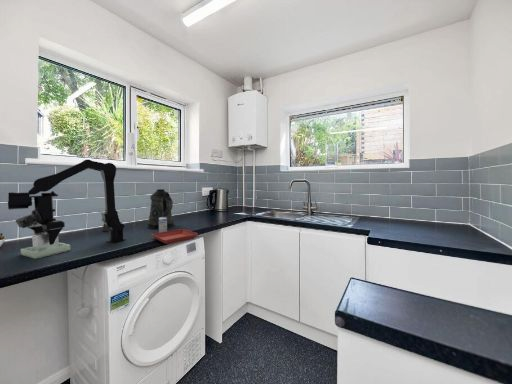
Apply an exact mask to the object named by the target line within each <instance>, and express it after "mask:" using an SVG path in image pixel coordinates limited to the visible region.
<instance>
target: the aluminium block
mask: <svg viewBox="0 0 512 384" xmlns="http://www.w3.org/2000/svg"><path fill="white" fill-rule="evenodd" d="M31 238H32V242H31V243H32V247H33V252H40V251H44V250H48V249H53V248H57V247H59V243H60V242H59V235H58V236H57V238H56V240H55V242H54V244H52V245H50V244H49V240H48V236H47V233H46V232H42V233H37V234H35V233H32V234H31Z"/></svg>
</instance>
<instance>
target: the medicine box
mask: <svg viewBox="0 0 512 384" xmlns="http://www.w3.org/2000/svg"><path fill="white" fill-rule="evenodd" d="M166 231H168V228H167V218H166V217H160V218H159V229H158V233H160V232H166Z"/></svg>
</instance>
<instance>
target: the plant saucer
mask: <svg viewBox="0 0 512 384" xmlns="http://www.w3.org/2000/svg"><path fill="white" fill-rule="evenodd" d="M198 234H199V233H198V232H195V231H191V230H188V229H185V228H179V229H171V230H167V231H166V232H160V233H159V232H155V233H151V236H152V237H153V238H154V239H155V240H157V241H159V242H161V243H163V244H165V245H170V244H176V243H179V242H180V243H181V242H185V241H189V240H194V239H195V238H196V236H198Z"/></svg>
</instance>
